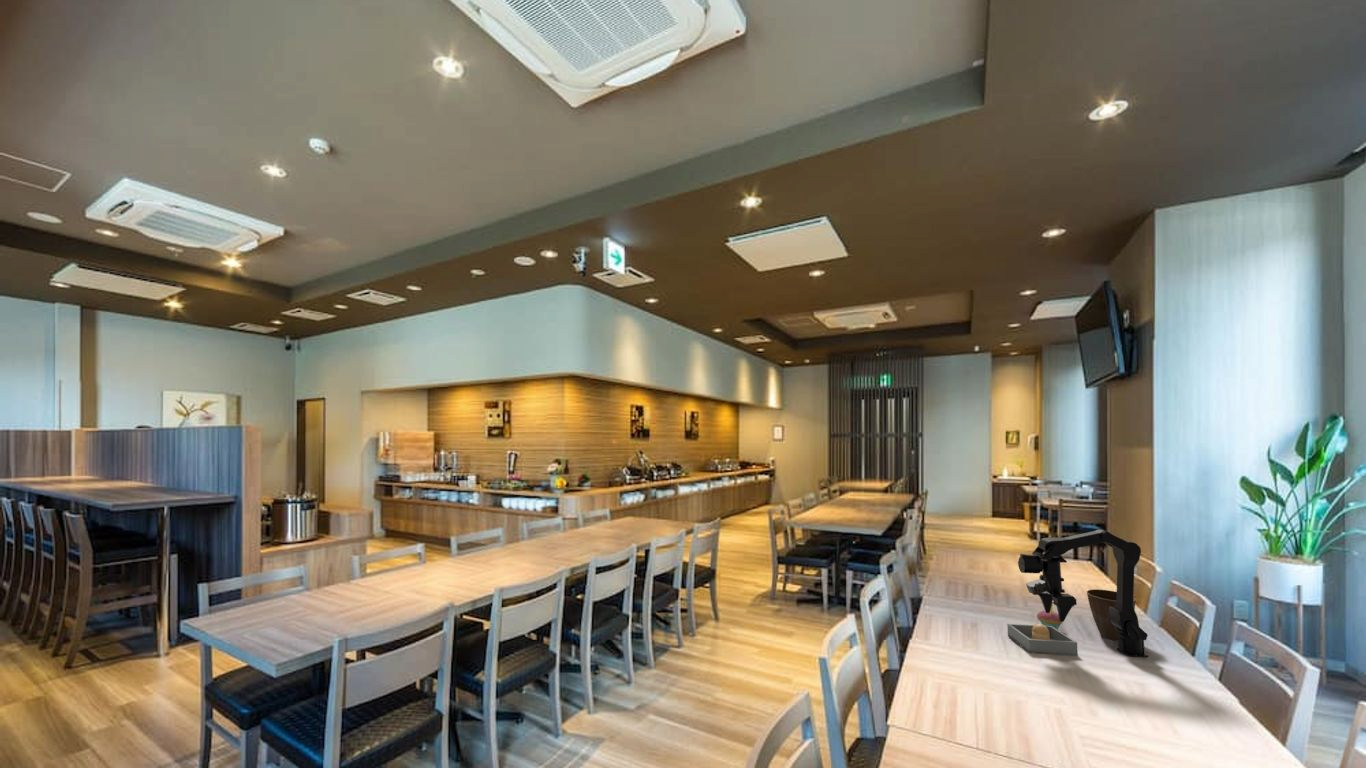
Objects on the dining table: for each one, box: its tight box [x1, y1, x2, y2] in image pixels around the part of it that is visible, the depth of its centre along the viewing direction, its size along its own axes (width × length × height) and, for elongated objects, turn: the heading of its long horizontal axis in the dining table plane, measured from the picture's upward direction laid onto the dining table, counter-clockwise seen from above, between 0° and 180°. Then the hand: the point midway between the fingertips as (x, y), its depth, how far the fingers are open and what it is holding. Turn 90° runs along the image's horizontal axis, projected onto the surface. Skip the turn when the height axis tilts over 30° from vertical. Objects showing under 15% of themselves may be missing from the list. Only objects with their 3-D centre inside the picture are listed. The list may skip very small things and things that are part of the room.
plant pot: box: [1086, 588, 1137, 642], centre depth 208 cm, size 15×15×16 cm
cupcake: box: [1036, 602, 1063, 630], centre depth 215 cm, size 9×8×12 cm
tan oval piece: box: [1032, 623, 1050, 640], centre depth 200 cm, size 5×5×7 cm
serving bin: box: [1006, 623, 1079, 656], centre depth 199 cm, size 16×16×4 cm
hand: (1054, 617), depth 198 cm, fingers open, 9 cm apart
